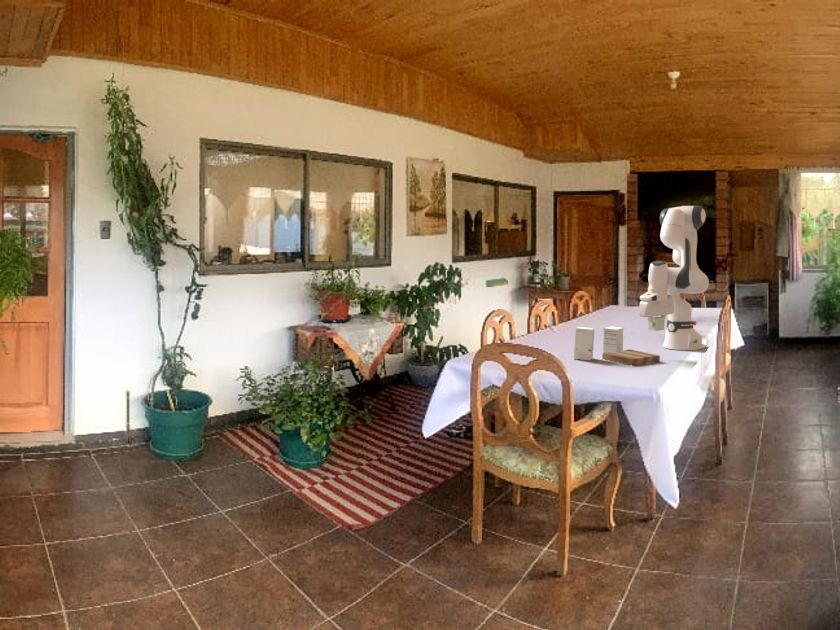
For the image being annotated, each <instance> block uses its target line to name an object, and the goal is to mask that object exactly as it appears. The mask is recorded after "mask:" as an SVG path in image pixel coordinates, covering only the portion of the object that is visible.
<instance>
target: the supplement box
mask: <svg viewBox="0 0 840 630" xmlns="http://www.w3.org/2000/svg"><path fill="white" fill-rule="evenodd" d="M602 344H603V346H602V347H603V348H602V350H603V351H602V354H603V353H606V352H614V351H622V350H624V327H622V326H621V327H620V326H611V325H610V326H608V327H607V326H606V327H603V343H602Z"/></svg>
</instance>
